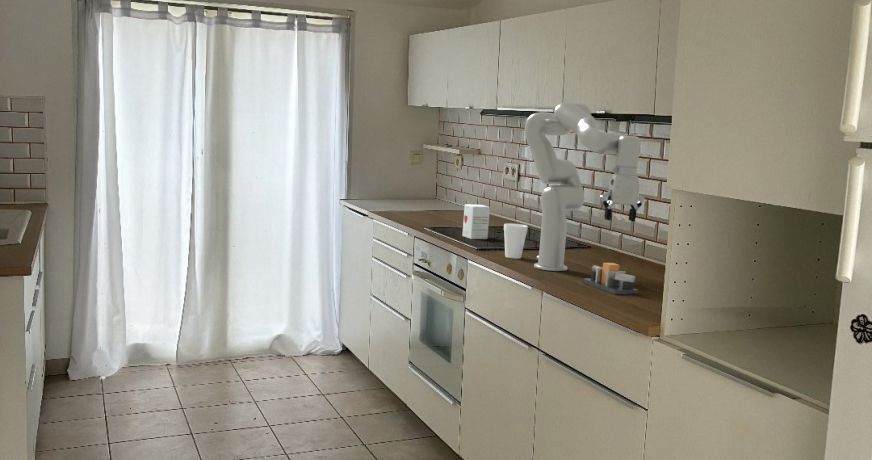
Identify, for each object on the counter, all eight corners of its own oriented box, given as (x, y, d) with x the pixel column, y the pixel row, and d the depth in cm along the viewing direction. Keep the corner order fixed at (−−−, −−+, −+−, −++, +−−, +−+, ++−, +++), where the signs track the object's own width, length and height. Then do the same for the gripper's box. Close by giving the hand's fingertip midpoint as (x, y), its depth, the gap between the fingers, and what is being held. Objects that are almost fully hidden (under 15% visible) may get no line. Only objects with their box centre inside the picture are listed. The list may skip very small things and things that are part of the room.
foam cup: (523, 259, 358) (526, 227, 357) (500, 257, 360) (502, 225, 358) (525, 256, 367) (528, 225, 366) (503, 254, 369) (505, 222, 368)
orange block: (607, 285, 306) (609, 264, 305) (601, 282, 310) (603, 262, 309) (617, 285, 308) (619, 264, 307) (611, 282, 312) (613, 262, 311)
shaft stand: (582, 282, 316) (584, 264, 316) (604, 282, 320) (605, 264, 319) (614, 294, 298) (616, 275, 297) (637, 294, 302) (639, 275, 301)
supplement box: (461, 236, 416) (463, 203, 414) (478, 236, 420) (481, 204, 418) (470, 239, 408) (473, 206, 406) (488, 239, 412) (490, 206, 410)
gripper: (609, 171, 305) (603, 221, 307) (653, 174, 311) (646, 223, 314) (598, 168, 312) (592, 217, 314) (641, 171, 318) (635, 219, 320)
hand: (619, 220), depth 314 cm, fingers open, 9 cm apart
